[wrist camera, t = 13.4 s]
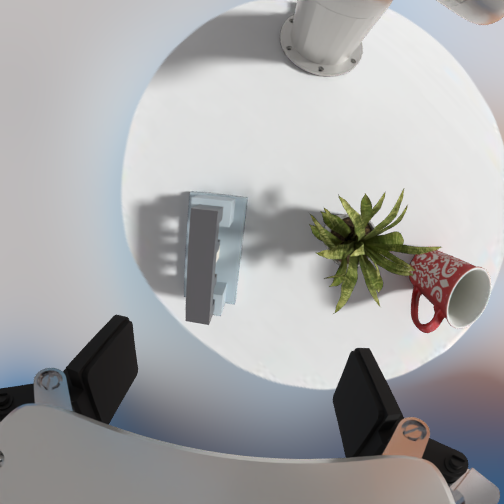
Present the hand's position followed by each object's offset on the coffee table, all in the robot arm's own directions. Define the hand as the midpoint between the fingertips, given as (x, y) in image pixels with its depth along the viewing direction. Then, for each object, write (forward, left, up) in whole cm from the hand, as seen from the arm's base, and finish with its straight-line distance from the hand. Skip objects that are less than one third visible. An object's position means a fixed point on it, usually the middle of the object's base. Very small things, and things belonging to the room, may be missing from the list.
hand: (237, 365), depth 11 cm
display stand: (+4, -6, -30) cm, 31 cm away
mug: (+4, +28, -31) cm, 42 cm away
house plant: (-2, +13, -31) cm, 33 cm away
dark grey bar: (+4, -6, -24) cm, 25 cm away
